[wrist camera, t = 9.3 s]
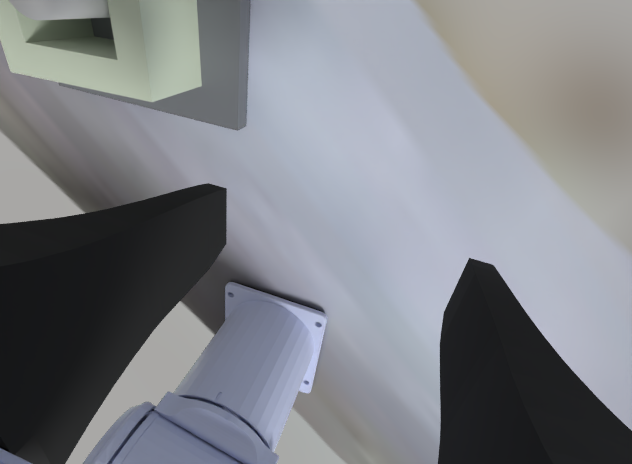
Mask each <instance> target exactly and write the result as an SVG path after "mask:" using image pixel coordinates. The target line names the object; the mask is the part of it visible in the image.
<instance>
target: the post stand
mask: <svg viewBox="0 0 632 464" xmlns="http://www.w3.org/2000/svg"><path fill="white" fill-rule="evenodd" d="M9 1H10V3H11V4H12V5H13V6H14V7H15V8H16V9H17V10H18V11H19V12H20V13H22V14H23V15H25V16H26V17H28V18H30V19H33V20H60V19H85V18H91V23H92V28H93V33H94V36H95V37H101V38H106V39H112V40H114V37H113V31H112V25H111V19H110V13H109V7H108V1H107V0H9ZM197 13H198V30H199V47H200V64H201V81H202V86H201V87H197V88H194V89H191V90H188V91H185V92H182V93H179V94H176V95H173V96H170V97H167V98H164V99H161V100H158V101H155V102H149V101H144V100H139V99H135V98H130V97H125V96H121V95H116V94H111V93H107V92H102V91H97V90H93V89H88V88H83V87H79V86H74V85H69V84H65V83H60V82H58V83H59V85H60V86H64V87H68V88H72V89H76V90H80V91H84V92H87V93H91V94H95V95H99V96H103V97H107V98H111V99H115V100H119V101H123V102H127V103H131V104H135V105H139V106H143V107H147V108H151V109H154V110H158V111H162V112H166V113H170V114H174V115H178V116H182V117H186V118H190V119H194V120H198V121H202V122H206V123H210V124H214V125H218V126H221V127H225V128H229V129H233V130H237V131H238V130H240V129H241V128H243V127H245V126H246V113H247V83H248V53H249V24H250V0H197Z"/></svg>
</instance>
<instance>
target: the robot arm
mask: <svg viewBox="0 0 632 464" xmlns="http://www.w3.org/2000/svg"><path fill="white" fill-rule="evenodd" d="M225 245H226V188H223V187H219V186H216V185H212V184H209V183H208V184H202V185H197V186H193V187H189V188H185V189H182V190H178V191H175V192H171V193H167V194H164V195H160V196H157V197H153V198H149V199H146V200H142V201H138V202H134V203H130V204H126V205H122V206H118V207H114V208H109V209H105V210H100V211H96V212H90V213H85V214H79V215H74V216H67V217H61V218H55V219H45V220H37V221H27V222H18V223H9V224H0V464H65V463H66V461H67V459H68V458H69V456H70V455H71V453H72V451H73V449H74V448H75V446H76V444H77V443H78V441H79V440H80V438H81V436H82V435H83V433H84V431H85V430H86V428H87V426H88V425H89V423H90V421H91V420H92V418H93V417H94V415H95V414H96V412H97V411H98V409H99V408H100V406H101V405H102V403H103V401H104V400H105V398H106V397H107V395H108V394H109V392H110V391H111V389H112V387H113V386H114V384H115V383H116V382H117V380H118V379H119V377H120V376H121V375H122V373H123V372H124V370H125V369H126V367H127V366H128V365H129V363H130V362H131V360H132V359H133V357H134V356H135V355H136V353H137V352H138V351H139V349H140V348H141V347H142V345H143V344H144V343H145V341H146V340H147V338H148V337H149V336H150V334H151V333H152V332H153V330H154V329H155V328H156V327H157V326H158V324H159V323H160V322H161V321H162V320H163V319H164V317H165V316H166V315H167V314H168V313H169V312H170V311H171V310H172V309H173V308H174V306H176V304H177V303H178V302H179V301H180V300H181V299H182V298H183V297H184V296H185V295H186V294H187V293H188V291H189V290H190V289H191V288H192V287H193V286H194V285H195V284H196V283H197V282H198V281H199V279H200V278H201V277H202V276H203V275H204V274H205V273H206V272H207V270H208V269H209V268H210V267H211V265H212V264H213V263H214V261H215V260H216V258H217V257H218V255H219V254H220V252H221V251H222V249H223V248H224V246H225ZM232 293H233V294H232ZM318 322H319V323H318ZM326 322H327V316H326V314H325V313H323V312H321V311H318V310H315V309H312V308H309V307H306V306H303V305H300V304H297V303H294V302H291V301H288V300H285V299H282V298H279V297H276V296H273V295H270V294H267V293H264V292H261V291H258V290H255V289H252V288H249V287H246V286H243V285H240V284H237V283H234V282H229V283H227V285H226V286H225V322H224V323H223V325H222V326H221V327H220V329H219V330H218V332H217V333H216V334H215V336H214V337H213V338H212V340H211V341H210V343H209V344H208V345H207V347H206V348H205V350H204V351H203V352H202V354H201V355H200V357H199V358H198V359H197V361H196V362H195V363H194V365H193V366H192V368H191V369H190V371H189V372H188V373H187V375H186V376H185V377H184V379H183V380H182V381H181V383H180V384H179V386H178V387H177V388H176V390H175V391H174V393H171V392H167V393H166V394H165V396H164V397H163V398H162V400H161V401H160V403H159V404H158V405H157V407H156V406H154V405H153V404H152V403H150V402H144V403H142V404H141V405H138V406H135V407H132V408H130V409H129V410H127V411H126V412H125V413H124V414H123V415H122V416H121V417H120V418H119V419H118V420H117V421H116V422H115V423H114V424H113V425H112V426H111V428H110V429H109V430H108V431H107V432H106V433H105V435H104V436H103V437H102V438H101V440H100V441H99V442H98V444H97V445H96V446H95V447H94V449H93V450H92V452H91V453H90V454H89V455H88V457H87V458H86V460H85V461H84V463H83V464H277V462H278V459H279V456H278V455H277V454H275V453H274V451H275V449H276V446H277V444H278V441H279V439H280V436H281V434H282V431H283V429H284V426H285V424H286V421H287V419H288V416H289V414H290V411H291V409H292V406H293V404H294V401H295V399H296V396H297V394H298V391H301V392H304V393H310V392H311V389H312V385H313V381H314V376H315V372H316V367H317V363H318V358H319V354H320V349H321V345H322V340H323V336H324V331H325V327H326ZM320 323H321V324H320ZM440 399H441V431H440V447H439V458H438V464H632V431H631V430H630V429H629V428H628V427H627V426H626V425H625V424H624V423H623V422H622V421H621V420H620V419H618V418H617V417H616V416H615V415H614V414H613V413H612V412H611V411H610V410H609V409H608V408H607V407H606V406H605V405H604V404H603V403H602V402H601V401H600V400H599V399H598V398H597V397H596V396H595V395H594V394H593V392H592V391H591V390H590V389H589V388H588V387H587V386H586V385H585V384H584V383H583V382H582V381H581V380H580V378H579V377H578V376H577V375H576V374H575V373H574V372H573V371H572V370H571V369H570V368H569V366H568V365H567V364H566V363H565V362H564V361H563V359H562V358H561V357H560V356H559V355H558V353H557V352H556V351H555V350H554V348H553V347H552V346H551V345H550V343H549V342H548V341H547V340H546V339H545V337H544V336H543V335H542V333H541V332H540V331H539V329H538V328H537V327H536V326H535V324H534V323H533V321H532V320H531V319H530V317H529V316H528V315H527V313H526V312H525V310H524V309H523V308H522V306H521V305H520V303H519V302H518V300H517V299H516V297H515V296H514V295H513V293H512V292H511V290H510V289H509V287H508V286H507V284H506V283H505V281H504V280H503V278H502V277H501V275H500V274H499V272H498V271H497V270H496V268H495V267H494V266H493V265H492V264H488V263H485V262H481V261H478V260H474V259H471V258H469V260H468V262H467V264H466V266H465V268H464V271H463V273H462V275H461V277H460V279H459V281H458V283H457V286H456V288H455V290H454V292H453V294H452V296H451V298H450V301H449V303H448V305H447V307H446V309H445V311H444V316H443V323H442V331H441V340H440Z"/></svg>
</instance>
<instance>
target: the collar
mask: <svg viewBox="0 0 632 464" xmlns="http://www.w3.org/2000/svg"><path fill="white" fill-rule="evenodd" d="M107 1H108V7H109V13H110V19H111V25H112V31H113V37H114V40H112V39H106V38H101V37H95V36H94V33H93V28H92V23H91V18H85V19H60V20H33V19H30V18H28V17H26V16H25V15H23V14H22V13H20V12H19V11H18V10H17V9H16V8H15V7H14V6H13V5H12V4H11V3H10V1H9V0H0V40H1V43H2V46H3V49H4V52H5V56H6V59H7V62H8V65H9V68H10V71H11V72H13V73H18V74H23V75H27V76H32V77H37V78H41V79H46V80H51V81H55V82H60V83H65V84H69V85H74V86H79V87H83V88H88V89H93V90H97V91H102V92H107V93H111V94H116V95H121V96H125V97H130V98H135V99H139V100H144V101H149V102H155V101H158V100H161V99H164V98H167V97H170V96H173V95H176V94H179V93H182V92H185V91H188V90H191V89H194V88H197V87H201V86H202V81H201V64H200V47H199V30H198V13H197V0H107Z"/></svg>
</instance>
